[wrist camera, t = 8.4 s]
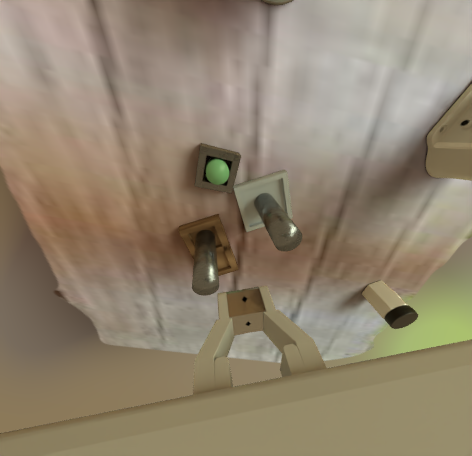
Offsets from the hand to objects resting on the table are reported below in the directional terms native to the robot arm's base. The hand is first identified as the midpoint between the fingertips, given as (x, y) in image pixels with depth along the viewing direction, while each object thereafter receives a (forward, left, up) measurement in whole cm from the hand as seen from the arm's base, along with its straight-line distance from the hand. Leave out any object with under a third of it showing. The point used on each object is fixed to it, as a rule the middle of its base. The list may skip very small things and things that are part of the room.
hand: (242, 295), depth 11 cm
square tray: (+5, +11, -29) cm, 32 cm away
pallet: (+19, +2, -29) cm, 35 cm away
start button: (0, 0, -29) cm, 29 cm away
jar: (+29, +62, -29) cm, 74 cm away
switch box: (0, 0, -29) cm, 29 cm away
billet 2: (+5, +11, -29) cm, 31 cm away
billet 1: (+15, 0, -28) cm, 32 cm away
